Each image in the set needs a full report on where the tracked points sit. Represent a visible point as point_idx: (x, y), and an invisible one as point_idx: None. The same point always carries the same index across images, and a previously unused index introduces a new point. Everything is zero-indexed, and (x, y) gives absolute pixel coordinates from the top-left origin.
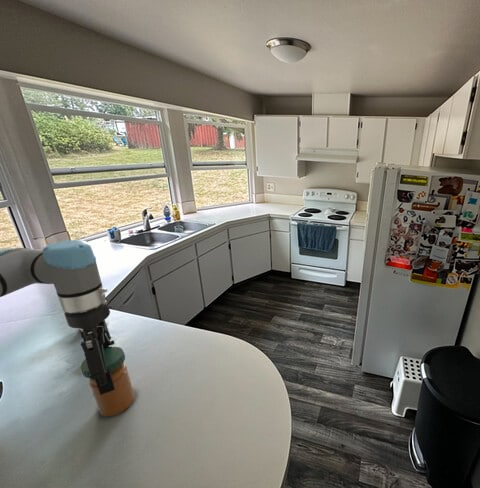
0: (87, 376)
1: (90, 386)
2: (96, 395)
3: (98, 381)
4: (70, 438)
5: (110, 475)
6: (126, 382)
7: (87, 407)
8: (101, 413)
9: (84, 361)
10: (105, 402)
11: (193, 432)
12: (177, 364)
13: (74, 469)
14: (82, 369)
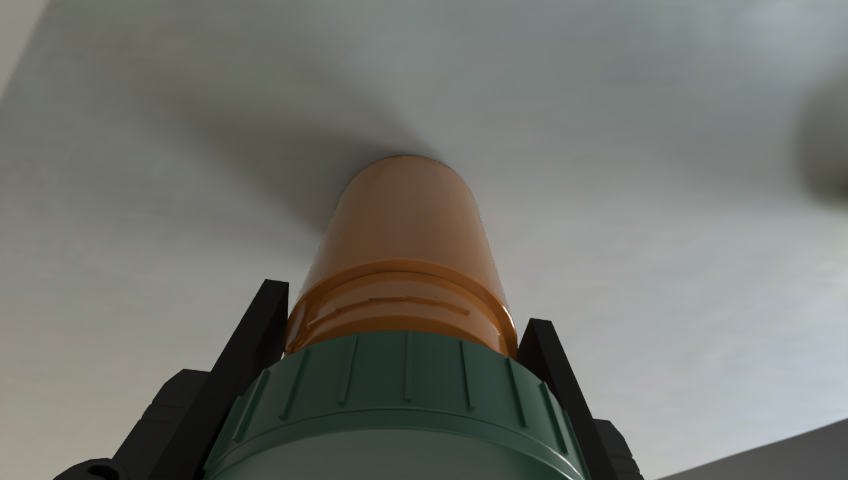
0: (275, 375)
1: (379, 252)
2: (340, 235)
3: (136, 426)
4: (321, 24)
5: (8, 154)
6: None
7: (490, 109)
8: (375, 165)
9: (492, 457)
10: (326, 232)
11: (75, 385)
12: None
13: (108, 32)
14: (305, 438)
